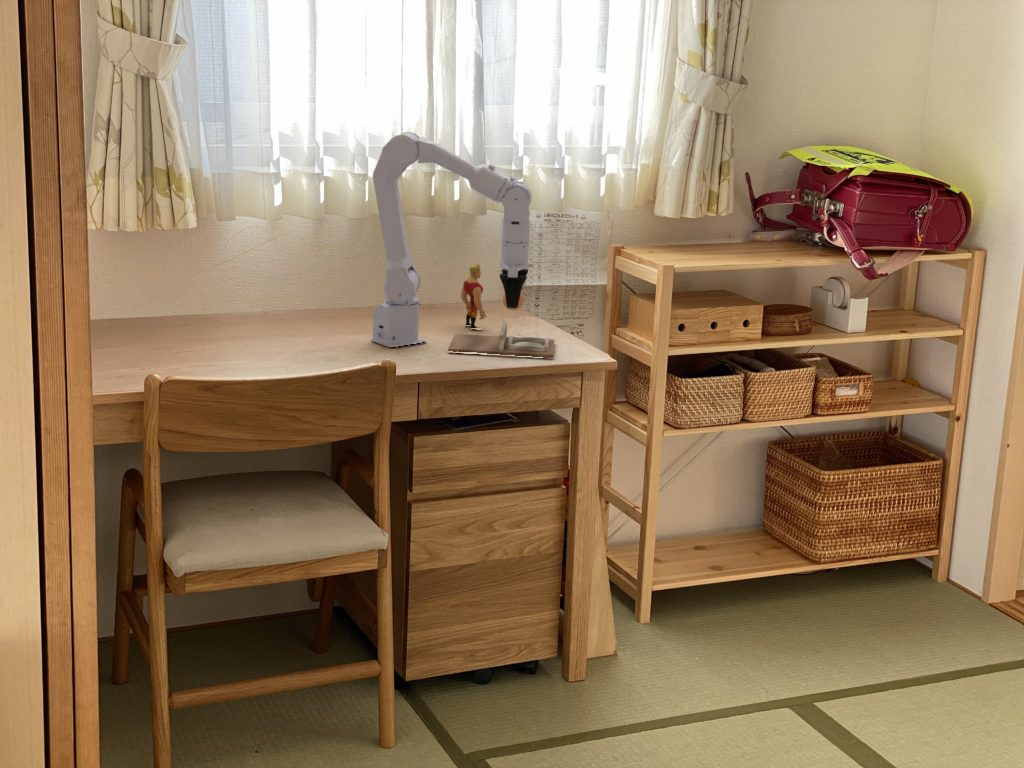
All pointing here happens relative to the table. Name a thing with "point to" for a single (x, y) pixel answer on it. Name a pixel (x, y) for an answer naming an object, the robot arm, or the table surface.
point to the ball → (518, 303)
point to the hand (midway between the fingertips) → (512, 305)
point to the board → (503, 344)
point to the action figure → (473, 296)
